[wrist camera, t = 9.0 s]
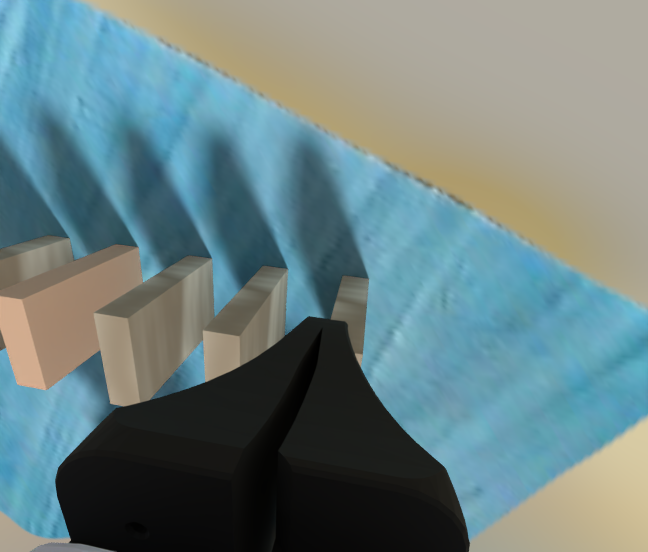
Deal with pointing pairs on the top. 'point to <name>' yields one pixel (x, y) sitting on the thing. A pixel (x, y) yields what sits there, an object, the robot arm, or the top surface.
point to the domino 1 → (32, 261)
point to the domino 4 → (247, 323)
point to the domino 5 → (353, 310)
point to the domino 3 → (154, 329)
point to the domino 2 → (63, 313)
